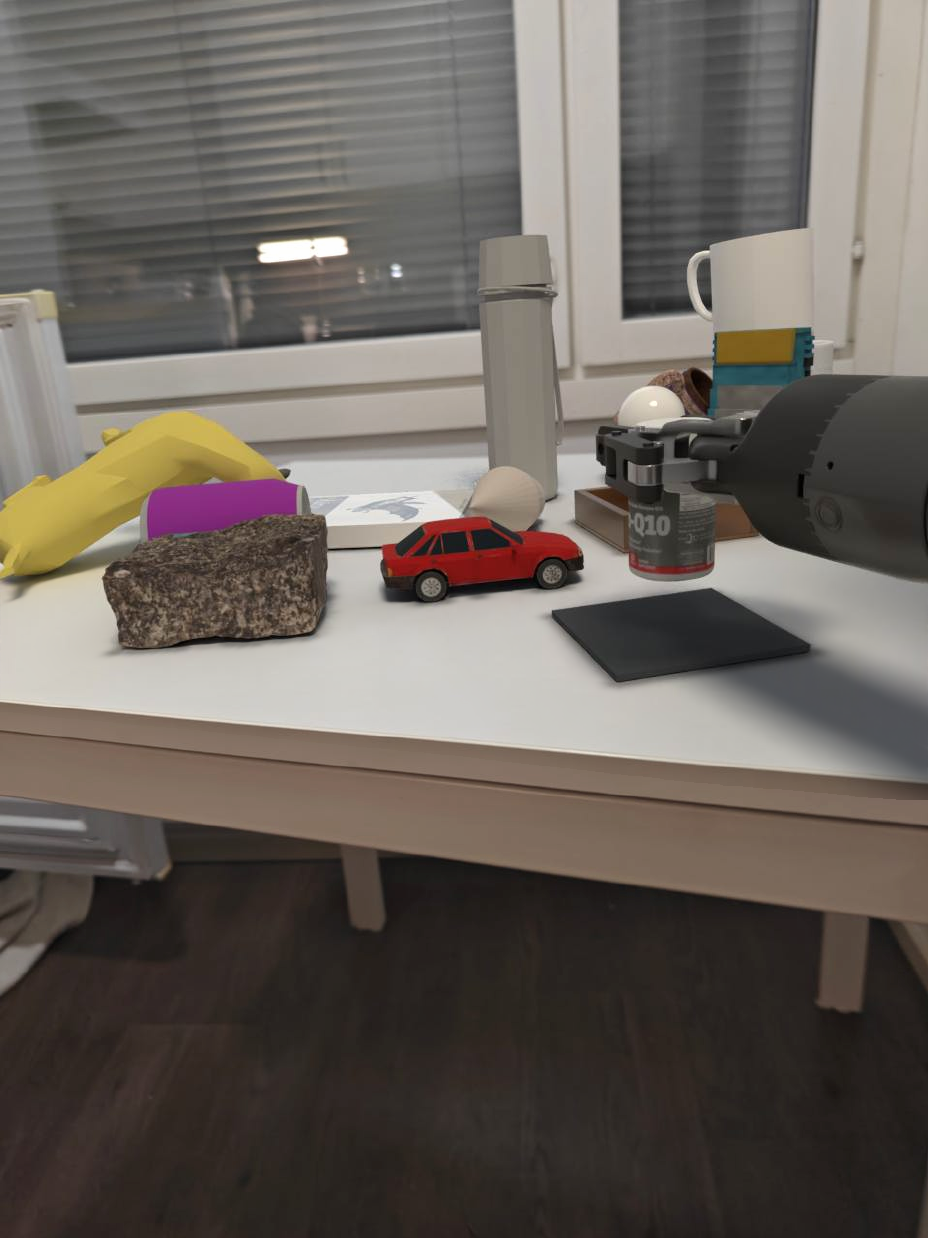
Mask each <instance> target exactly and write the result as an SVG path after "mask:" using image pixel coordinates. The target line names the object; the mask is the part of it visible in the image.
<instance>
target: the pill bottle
mask: <svg viewBox="0 0 928 1238" xmlns="http://www.w3.org/2000/svg"><path fill="white" fill-rule="evenodd" d="M682 419H696V420H711V419H708V418H700V417H678V418H664V419H655V420H648V421H643V422H640V423H637V424H636V426H645V428H658V429H662V427H663V425H664V424H665V423H668V422H672V421H677V420H682ZM696 436H697V434H691V435H690V437H689V446H690V443H691V441H692V440H693V439H694V438H695V437H696ZM653 442H656V441H653ZM628 500H629V502H628V506H629V518H628V519H629V552H628V567H629V571H630V572H631V573H632V574H633V575H634V576H636V577H638V578H640V579H641V578H642V579H644V580H646V581H647V580H648V581H653V582H665V583H666V582H667V583H668V582H669V583H672V582H686V581H693V580H699V579H701V578H704V577H707V576H709V575H710V574H711V573H712V572H713V571H714V569H715V561H716V560H715V559H716V558H715V557H716V541H715V528H716V502H715V501H713V500H712V499H711V498H710V497H708V496H700V495H690V494H681V493H671V492H667V491H665V490H664V494H663V495H662V500H661V501H659V502H654V504H643V503H641V502H636V501H634V500H632V499H631V498H628Z"/></svg>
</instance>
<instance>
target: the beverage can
mask: <svg viewBox="0 0 928 1238" xmlns="http://www.w3.org/2000/svg"><path fill="white" fill-rule="evenodd" d="M286 481H287V480H286ZM286 481H282V480H278V479H275V478H272V479H259V480H247V481H235V482H214V483H213V482H212V483H203V484H198V485H186V486H174V487H165V488H160V489H156V490H153V491H152V492H151V494H150V495H149V496H148V497H147V498H146V499H145V501H144V503H143V504H142V508H141V513H140V516H139V535H140V544H142V543H144V542H146V541H148V540H150V539H152V538H156V537H159V536H161V535H164V534H175V533H193V532H209V531H214V530H224V529H226V528H227V527H229V526H231V525H233V524H235V523H241V522H243V521H245V520H253V519H257V518H260V517H262V516H264V515H271V514H277V515H281V514H288V515H305V514H311V508H310V502H309V498H308V497H309V494H308V490H307V488H306V486H305V485H300V484H297V483H294V482H290V481H287V482H286Z"/></svg>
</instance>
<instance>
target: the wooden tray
mask: <svg viewBox="0 0 928 1238" xmlns="http://www.w3.org/2000/svg"><path fill="white" fill-rule="evenodd" d="M573 495H574V496H573V497H574V523H575V524H577V525H578V526H580V527H581V528H583V529H585V530H587V531H588V532H589V533H591V534H593V535H595V536H596V537H598V538H599V539H601V540H602V541H604V542H606V543H607V544H609V545H611V546H612V547H613V548H615V549H617V550H619V551H620V552H622V553H624V554H627V553H628V554H629V519H628V518H629V506H628V502H629V500H628V498H629V497H627V496H625V495H624V494H622V493H620V492H618V491H617V490H615V489H613V488H611V487H610V486H608V485H606V486H599V487H589V488H583V489H582V488H580V489H574V491H573ZM757 536H760V533H759V532H758V531H757V530H756V529H755V528H754V526H753V525H752V524H751V522H750V520H749V519H748V517H747V515H746V514H745V512H744V510H743V509H742V507H741V505H736V504H725V503H717V502H716V528H715V542H719V541H725V540H734V539H742V538H748V537H757Z"/></svg>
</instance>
